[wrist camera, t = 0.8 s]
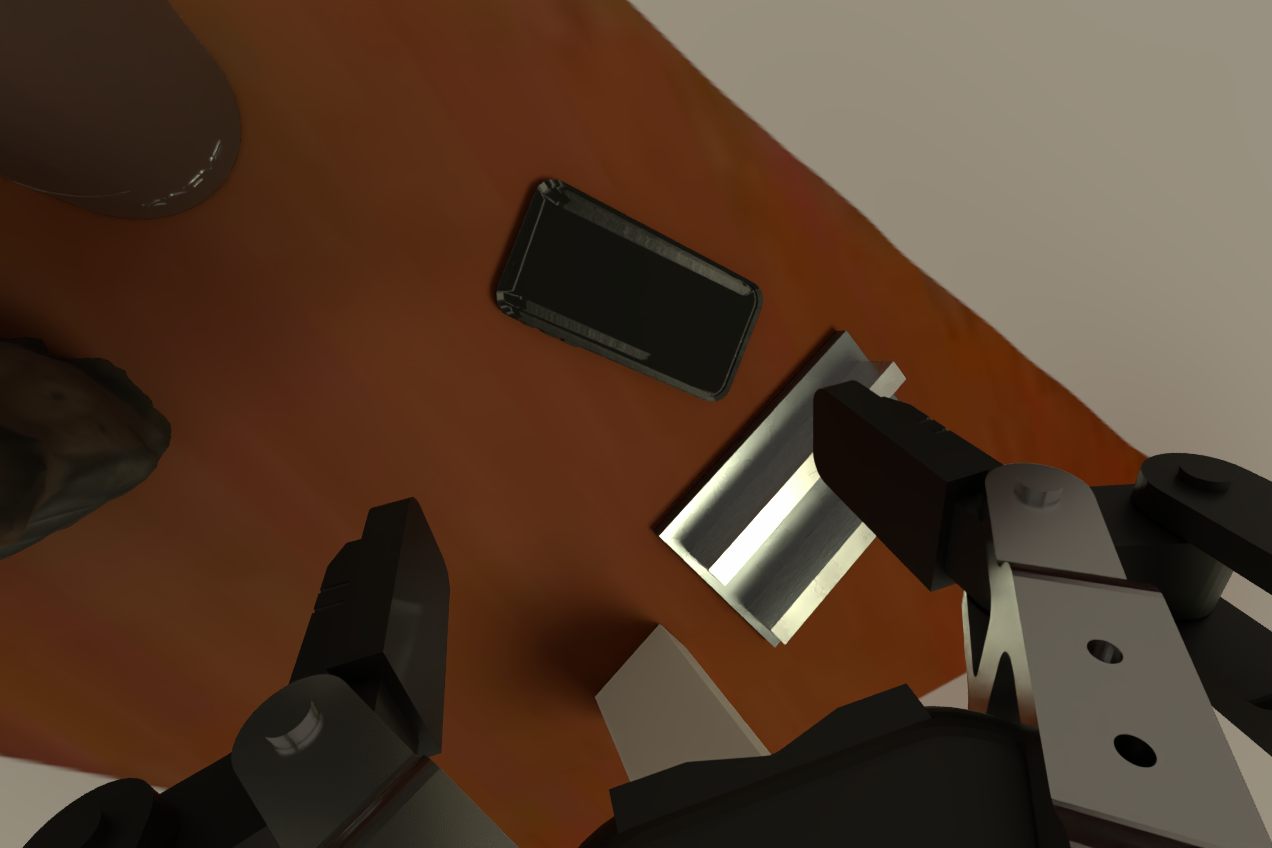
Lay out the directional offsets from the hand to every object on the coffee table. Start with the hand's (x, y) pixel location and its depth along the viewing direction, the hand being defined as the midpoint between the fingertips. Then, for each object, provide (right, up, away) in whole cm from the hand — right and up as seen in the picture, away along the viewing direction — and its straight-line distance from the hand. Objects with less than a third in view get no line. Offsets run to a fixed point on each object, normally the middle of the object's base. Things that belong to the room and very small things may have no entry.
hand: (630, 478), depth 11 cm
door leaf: (0, -15, +25) cm, 29 cm away
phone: (0, +8, +23) cm, 24 cm away
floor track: (+11, -3, +27) cm, 30 cm away
